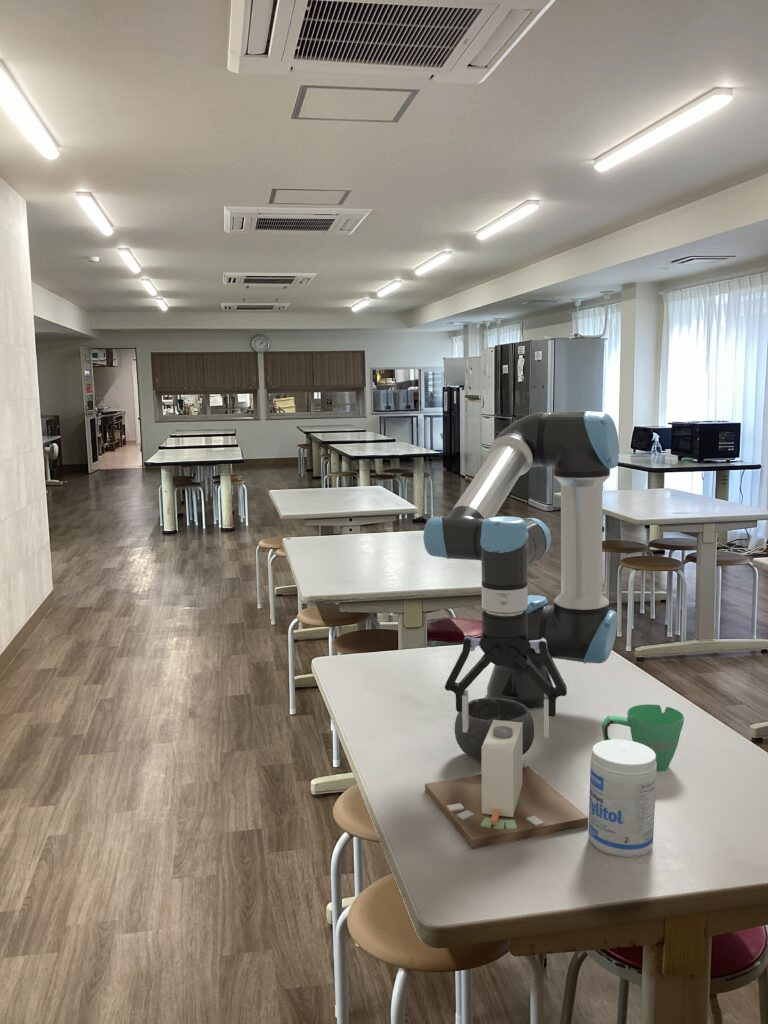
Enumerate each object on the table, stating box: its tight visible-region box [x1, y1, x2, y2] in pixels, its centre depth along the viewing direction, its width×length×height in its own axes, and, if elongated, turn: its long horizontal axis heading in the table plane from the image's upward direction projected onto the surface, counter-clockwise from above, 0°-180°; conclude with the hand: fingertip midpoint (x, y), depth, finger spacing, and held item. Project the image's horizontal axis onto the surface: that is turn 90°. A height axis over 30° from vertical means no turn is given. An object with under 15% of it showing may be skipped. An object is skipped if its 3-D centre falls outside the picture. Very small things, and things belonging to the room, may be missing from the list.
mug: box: [601, 703, 685, 773], centre depth 152 cm, size 15×10×10 cm
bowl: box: [454, 697, 536, 763], centre depth 156 cm, size 15×15×10 cm
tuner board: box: [424, 766, 589, 850], centre depth 138 cm, size 20×20×2 cm
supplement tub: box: [587, 738, 657, 858], centre depth 125 cm, size 10×10×15 cm
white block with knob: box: [481, 720, 524, 825], centre depth 135 cm, size 16×5×12 cm, turn 164°
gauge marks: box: [447, 803, 544, 830], centre depth 132 cm, size 12×10×1 cm
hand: (505, 731), depth 141 cm, fingers open, 13 cm apart
